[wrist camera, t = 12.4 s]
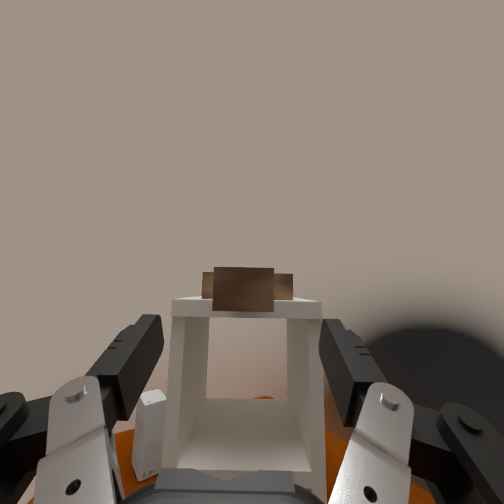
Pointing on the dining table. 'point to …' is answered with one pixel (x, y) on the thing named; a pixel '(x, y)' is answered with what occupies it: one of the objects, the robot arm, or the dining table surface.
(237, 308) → the walnut mallet
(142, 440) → the skincare box
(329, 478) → the dining table surface
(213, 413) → the shelf stand
